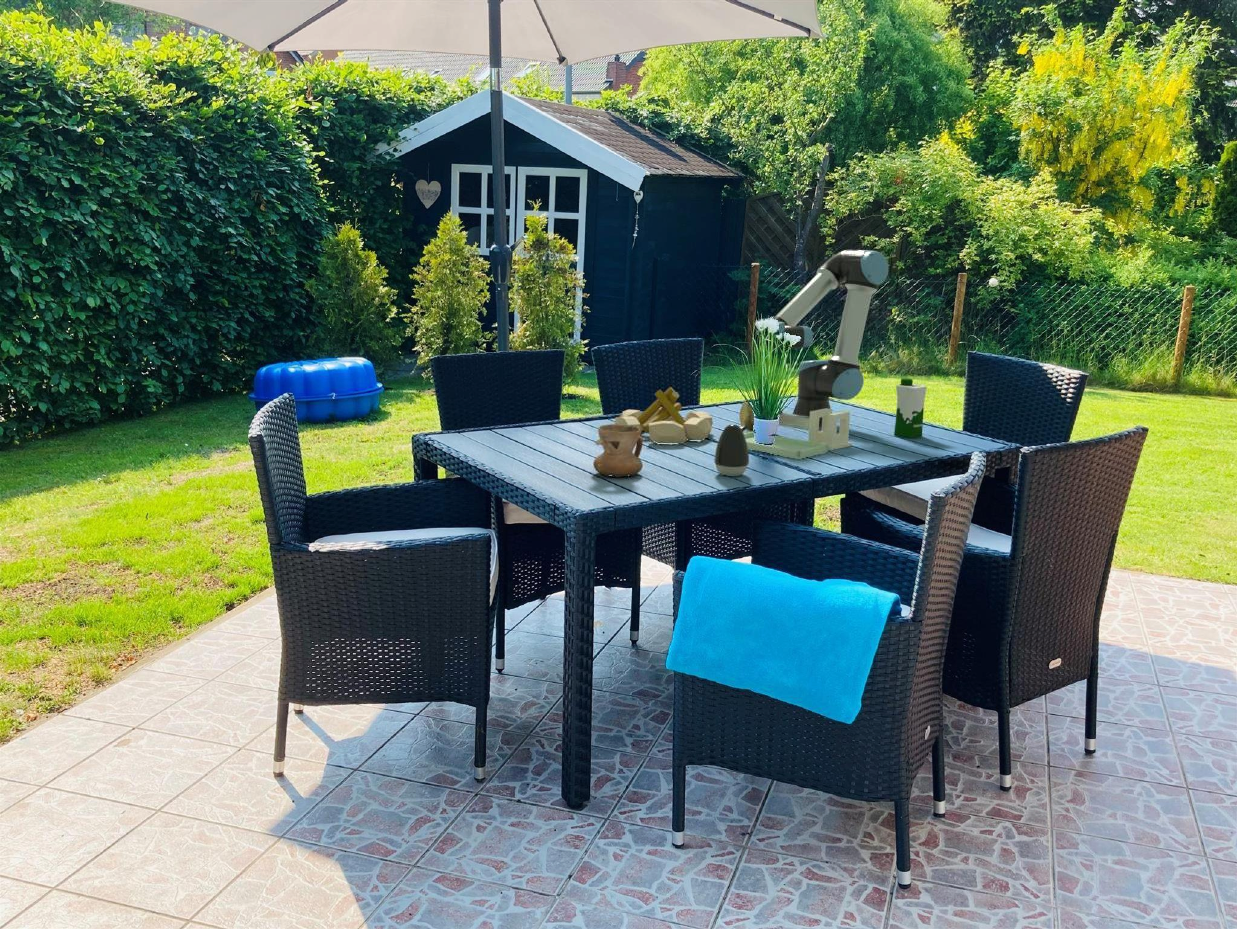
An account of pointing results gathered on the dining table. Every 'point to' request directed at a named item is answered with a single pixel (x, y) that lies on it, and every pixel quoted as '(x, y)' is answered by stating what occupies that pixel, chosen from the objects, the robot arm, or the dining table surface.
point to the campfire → (668, 420)
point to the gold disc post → (784, 419)
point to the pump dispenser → (732, 451)
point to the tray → (787, 447)
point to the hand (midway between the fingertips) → (769, 432)
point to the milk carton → (909, 409)
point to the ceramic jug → (619, 450)
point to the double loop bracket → (829, 428)
